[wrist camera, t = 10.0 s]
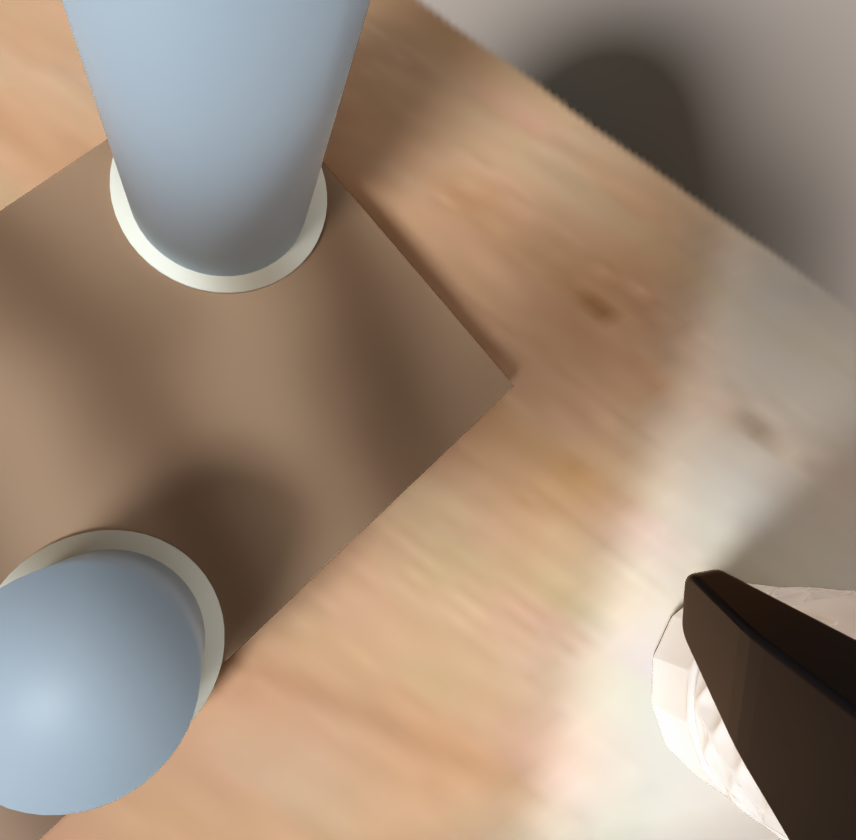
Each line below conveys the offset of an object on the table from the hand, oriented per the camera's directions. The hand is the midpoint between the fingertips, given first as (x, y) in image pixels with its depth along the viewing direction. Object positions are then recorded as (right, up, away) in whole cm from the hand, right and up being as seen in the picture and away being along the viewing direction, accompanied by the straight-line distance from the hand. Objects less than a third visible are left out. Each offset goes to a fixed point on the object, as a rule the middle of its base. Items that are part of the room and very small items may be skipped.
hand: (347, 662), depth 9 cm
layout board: (-8, +3, +11) cm, 14 cm away
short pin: (-7, -3, +10) cm, 12 cm away
